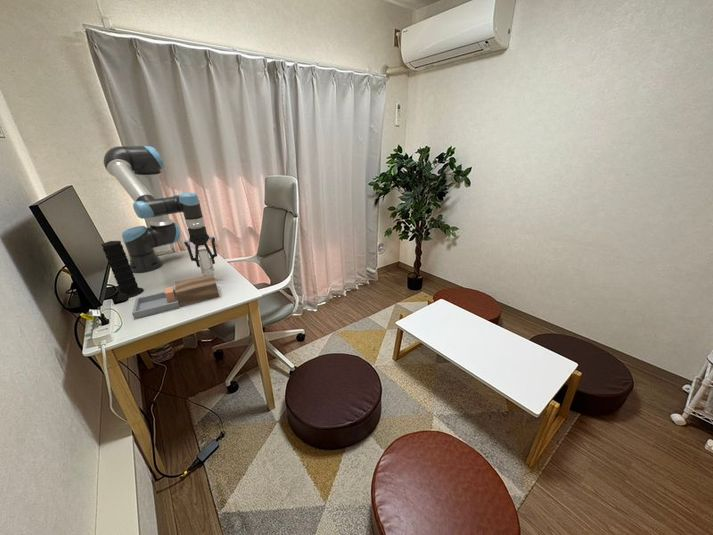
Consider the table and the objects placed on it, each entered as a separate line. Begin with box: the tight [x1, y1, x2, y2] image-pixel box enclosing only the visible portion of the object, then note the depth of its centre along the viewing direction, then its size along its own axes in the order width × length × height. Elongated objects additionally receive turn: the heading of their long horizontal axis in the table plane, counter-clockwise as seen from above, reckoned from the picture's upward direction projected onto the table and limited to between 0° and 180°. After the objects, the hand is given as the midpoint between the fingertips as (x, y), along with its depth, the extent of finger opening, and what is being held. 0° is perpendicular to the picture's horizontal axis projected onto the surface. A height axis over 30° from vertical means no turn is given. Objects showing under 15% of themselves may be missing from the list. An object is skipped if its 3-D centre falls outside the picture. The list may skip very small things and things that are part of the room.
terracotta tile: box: [164, 286, 177, 303], centre depth 122 cm, size 6×6×3 cm
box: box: [131, 291, 181, 320], centre depth 121 cm, size 14×16×3 cm
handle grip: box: [100, 240, 145, 300], centre depth 127 cm, size 10×26×10 cm
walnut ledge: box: [174, 273, 220, 308], centre depth 127 cm, size 12×16×7 cm
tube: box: [198, 248, 214, 276], centre depth 138 cm, size 4×4×15 cm
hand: (207, 271), depth 140 cm, fingers closed on tube, 4 cm apart
